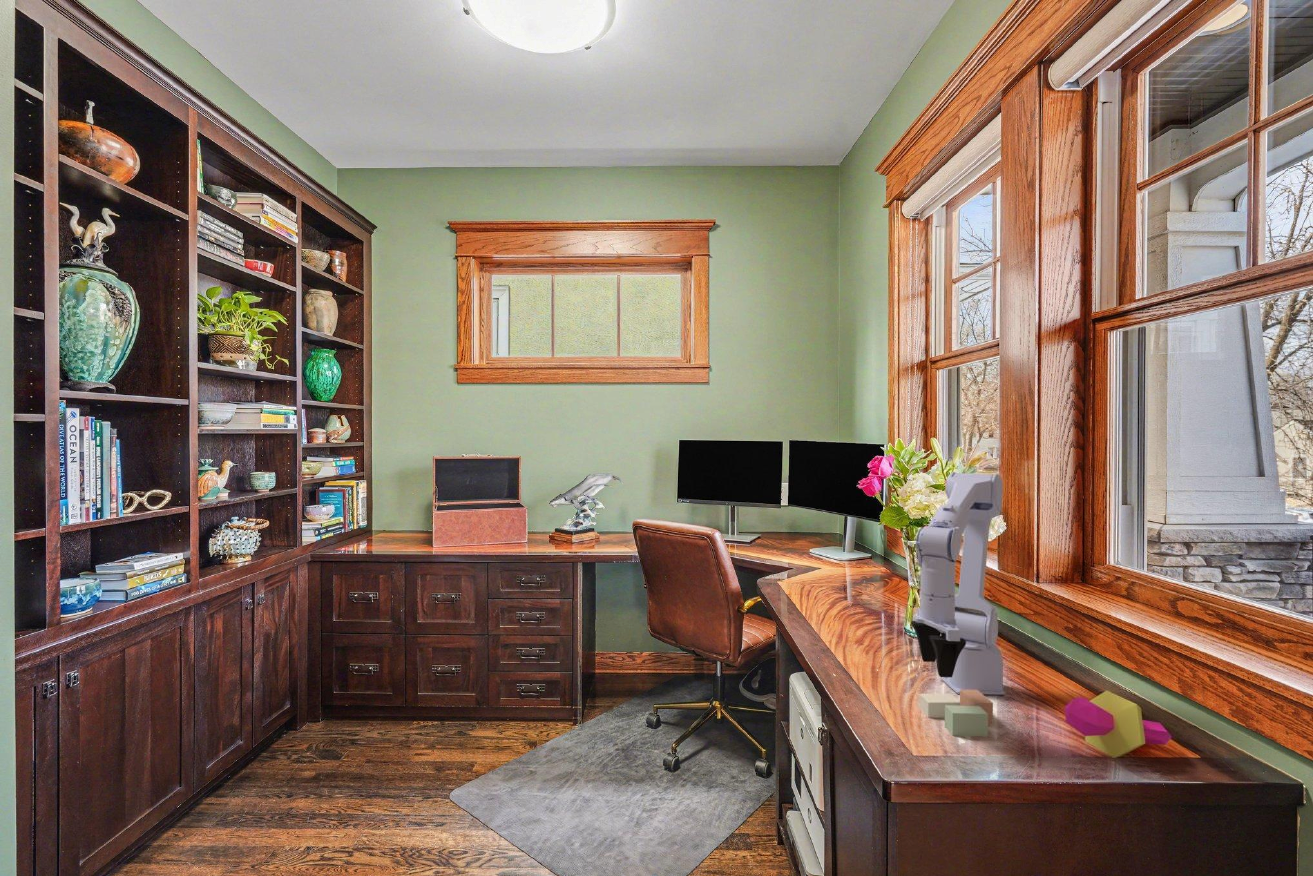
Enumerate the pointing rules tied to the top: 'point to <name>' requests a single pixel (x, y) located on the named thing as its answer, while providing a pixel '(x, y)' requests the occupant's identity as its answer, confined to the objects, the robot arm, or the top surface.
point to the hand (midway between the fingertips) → (936, 668)
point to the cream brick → (936, 704)
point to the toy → (1113, 724)
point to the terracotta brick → (977, 702)
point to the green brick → (966, 720)
